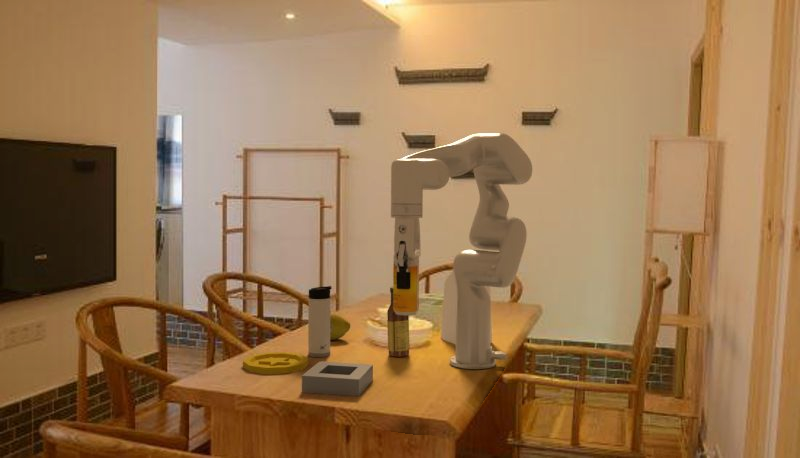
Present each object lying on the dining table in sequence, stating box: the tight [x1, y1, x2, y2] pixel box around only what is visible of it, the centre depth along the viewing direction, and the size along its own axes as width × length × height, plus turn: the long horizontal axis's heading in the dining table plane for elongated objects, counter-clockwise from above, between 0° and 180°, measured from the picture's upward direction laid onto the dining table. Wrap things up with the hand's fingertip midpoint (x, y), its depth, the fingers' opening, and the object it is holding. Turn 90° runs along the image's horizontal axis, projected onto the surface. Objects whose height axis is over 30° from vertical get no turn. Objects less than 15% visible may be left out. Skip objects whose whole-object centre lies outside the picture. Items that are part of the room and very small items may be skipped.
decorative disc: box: [242, 351, 310, 375], centre depth 198 cm, size 17×18×2 cm
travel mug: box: [307, 285, 333, 358], centre depth 210 cm, size 6×7×20 cm
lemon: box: [330, 313, 351, 341], centre depth 230 cm, size 11×8×8 cm
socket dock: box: [301, 360, 374, 397], centre depth 179 cm, size 14×14×4 cm
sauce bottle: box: [386, 286, 411, 358], centre depth 210 cm, size 6×6×20 cm
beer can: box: [392, 253, 420, 316], centre depth 174 cm, size 6×6×15 cm
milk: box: [440, 270, 493, 346], centre depth 230 cm, size 12×12×26 cm
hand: (406, 286), depth 174 cm, fingers closed on beer can, 6 cm apart
